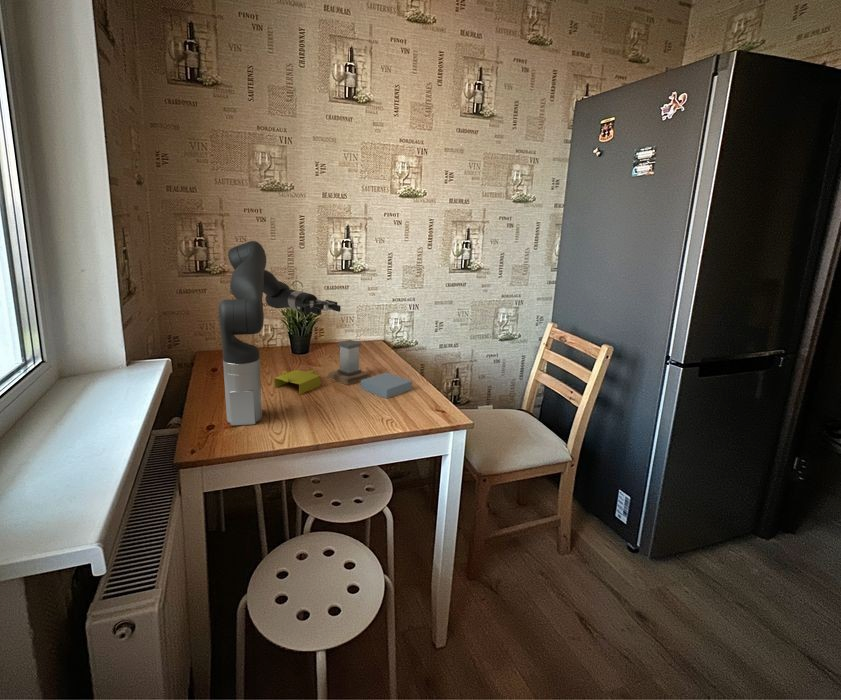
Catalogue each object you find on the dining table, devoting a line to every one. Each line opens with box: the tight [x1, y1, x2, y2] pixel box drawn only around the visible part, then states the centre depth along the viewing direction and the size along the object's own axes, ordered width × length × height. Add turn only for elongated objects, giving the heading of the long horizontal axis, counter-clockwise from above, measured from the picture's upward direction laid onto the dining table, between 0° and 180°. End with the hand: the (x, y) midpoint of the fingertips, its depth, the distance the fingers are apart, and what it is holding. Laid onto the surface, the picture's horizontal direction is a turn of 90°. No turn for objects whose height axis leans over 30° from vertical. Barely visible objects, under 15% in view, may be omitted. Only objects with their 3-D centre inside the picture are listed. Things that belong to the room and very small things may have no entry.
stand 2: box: [360, 372, 413, 400], centre depth 162 cm, size 12×12×3 cm
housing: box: [337, 339, 362, 377], centre depth 169 cm, size 6×6×11 cm
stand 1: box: [328, 369, 371, 386], centre depth 171 cm, size 10×10×2 cm
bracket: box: [273, 368, 322, 396], centre depth 161 cm, size 16×8×15 cm
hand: (330, 310), depth 172 cm, fingers open, 8 cm apart
